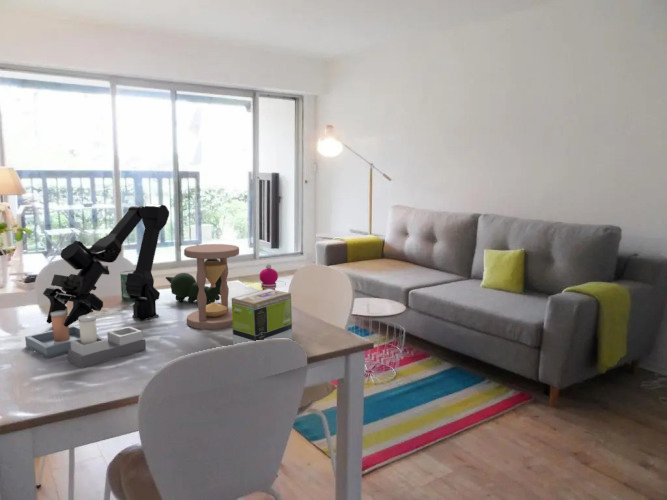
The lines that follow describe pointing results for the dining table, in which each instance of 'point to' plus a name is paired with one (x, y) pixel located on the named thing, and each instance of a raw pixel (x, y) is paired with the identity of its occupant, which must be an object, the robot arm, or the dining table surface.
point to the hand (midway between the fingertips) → (56, 324)
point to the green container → (123, 287)
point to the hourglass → (212, 270)
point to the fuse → (87, 329)
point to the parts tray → (51, 343)
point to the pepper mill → (268, 278)
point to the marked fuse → (60, 326)
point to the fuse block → (107, 347)
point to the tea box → (262, 316)
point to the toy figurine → (192, 287)
